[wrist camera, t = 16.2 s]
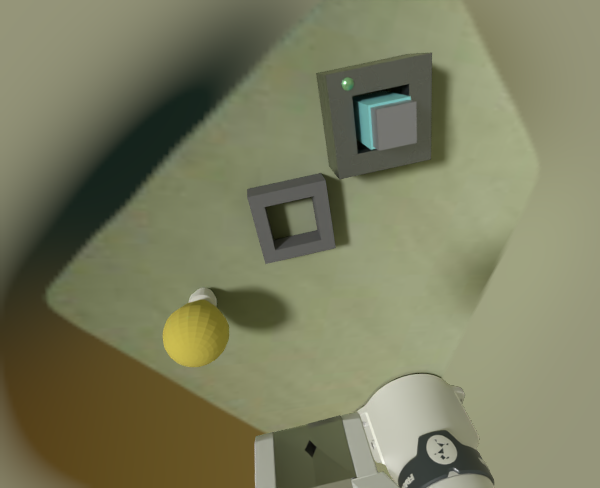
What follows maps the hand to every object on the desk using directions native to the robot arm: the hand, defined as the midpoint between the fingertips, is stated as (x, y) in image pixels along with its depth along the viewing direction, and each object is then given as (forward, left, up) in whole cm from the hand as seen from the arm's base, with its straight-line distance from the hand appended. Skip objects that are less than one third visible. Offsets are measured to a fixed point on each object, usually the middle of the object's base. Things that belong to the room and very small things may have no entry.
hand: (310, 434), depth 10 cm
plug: (+3, -11, -29) cm, 31 cm away
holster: (-6, -2, -29) cm, 30 cm away
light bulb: (-14, +11, -29) cm, 34 cm away
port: (+3, -11, -29) cm, 31 cm away
